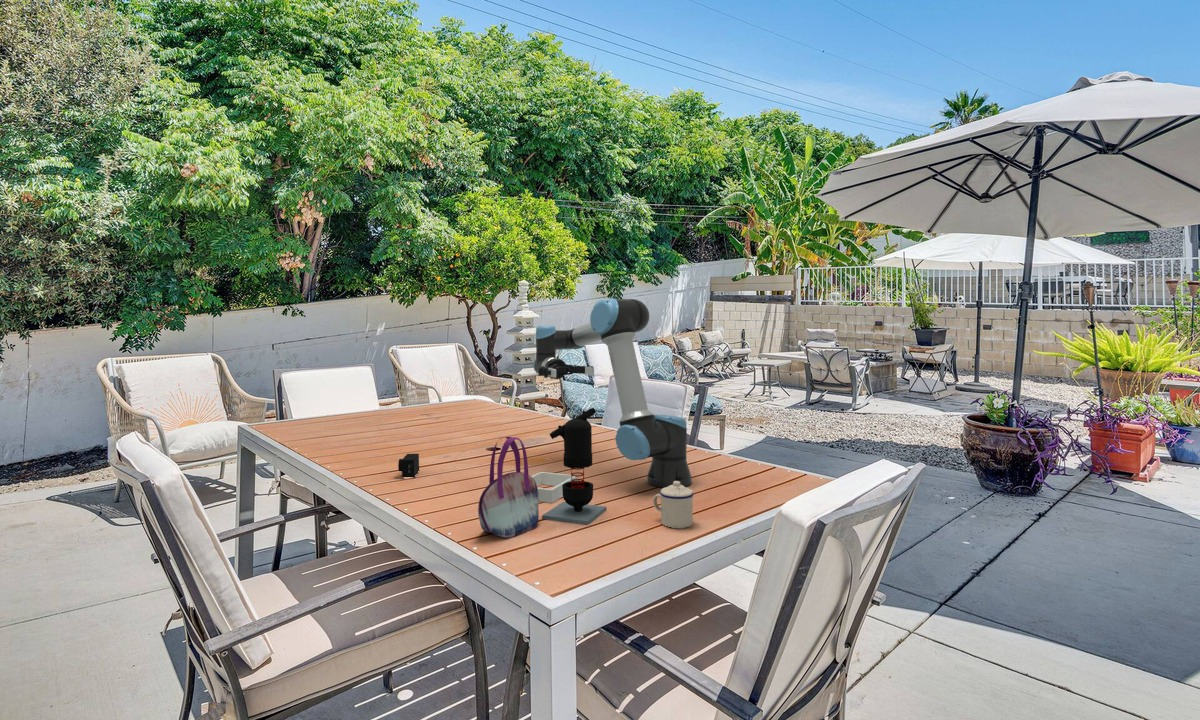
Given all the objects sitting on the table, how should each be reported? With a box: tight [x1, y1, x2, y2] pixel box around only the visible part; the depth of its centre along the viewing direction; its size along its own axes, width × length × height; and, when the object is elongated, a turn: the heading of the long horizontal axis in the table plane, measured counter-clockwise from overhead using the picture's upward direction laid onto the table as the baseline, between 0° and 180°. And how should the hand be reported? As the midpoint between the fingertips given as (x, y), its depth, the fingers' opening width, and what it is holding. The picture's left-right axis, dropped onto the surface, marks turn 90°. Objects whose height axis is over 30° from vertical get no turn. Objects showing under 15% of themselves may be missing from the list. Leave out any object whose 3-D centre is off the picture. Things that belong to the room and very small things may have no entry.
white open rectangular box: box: [530, 471, 579, 504], centre depth 200 cm, size 14×19×4 cm
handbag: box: [477, 436, 540, 538], centre depth 165 cm, size 21×10×25 cm, turn 143°
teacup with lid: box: [652, 481, 694, 529], centre depth 170 cm, size 12×9×12 cm
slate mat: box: [541, 501, 607, 526], centre depth 178 cm, size 14×14×1 cm
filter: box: [549, 407, 597, 512], centre depth 177 cm, size 14×9×30 cm
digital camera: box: [397, 453, 420, 478], centre depth 224 cm, size 10×5×7 cm, turn 7°
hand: (574, 372), depth 209 cm, fingers open, 13 cm apart
